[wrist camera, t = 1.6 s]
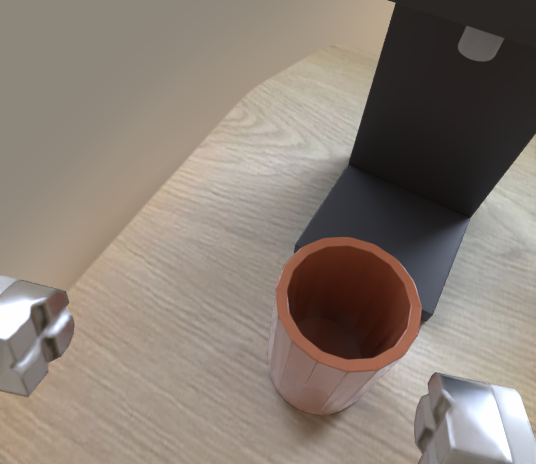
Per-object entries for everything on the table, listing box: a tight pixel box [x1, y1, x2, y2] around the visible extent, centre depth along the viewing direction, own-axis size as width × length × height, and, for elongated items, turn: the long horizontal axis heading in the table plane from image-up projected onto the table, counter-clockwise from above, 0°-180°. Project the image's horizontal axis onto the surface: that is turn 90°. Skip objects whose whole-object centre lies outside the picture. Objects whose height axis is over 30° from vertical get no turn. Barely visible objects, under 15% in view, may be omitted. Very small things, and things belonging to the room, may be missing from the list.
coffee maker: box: [294, 0, 536, 321], centre depth 22 cm, size 12×10×24 cm
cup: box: [268, 237, 422, 415], centre depth 22 cm, size 6×6×10 cm
